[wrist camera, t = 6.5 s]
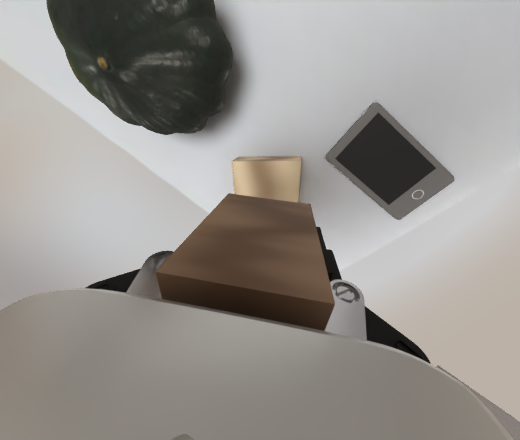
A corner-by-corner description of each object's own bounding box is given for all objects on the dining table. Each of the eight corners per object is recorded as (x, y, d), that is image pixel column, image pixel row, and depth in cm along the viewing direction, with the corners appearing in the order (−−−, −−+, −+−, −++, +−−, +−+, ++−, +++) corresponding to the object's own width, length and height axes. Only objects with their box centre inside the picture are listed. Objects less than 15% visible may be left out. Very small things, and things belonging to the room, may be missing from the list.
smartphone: (322, 157, 26) (323, 158, 25) (373, 100, 22) (375, 100, 22) (395, 219, 28) (397, 221, 28) (452, 177, 24) (456, 179, 24)
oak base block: (300, 156, 26) (301, 161, 23) (296, 212, 31) (296, 224, 27) (239, 156, 28) (231, 161, 24) (243, 210, 32) (237, 221, 29)
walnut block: (310, 204, 11) (335, 304, 5) (295, 268, 13) (300, 391, 7) (228, 193, 11) (155, 271, 5) (228, 257, 14) (177, 363, 8)
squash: (53, -115, 15) (-100, -21, 10) (237, -104, 14) (170, 5, 9) (152, 76, 28) (108, 156, 23) (248, 88, 27) (224, 174, 22)
